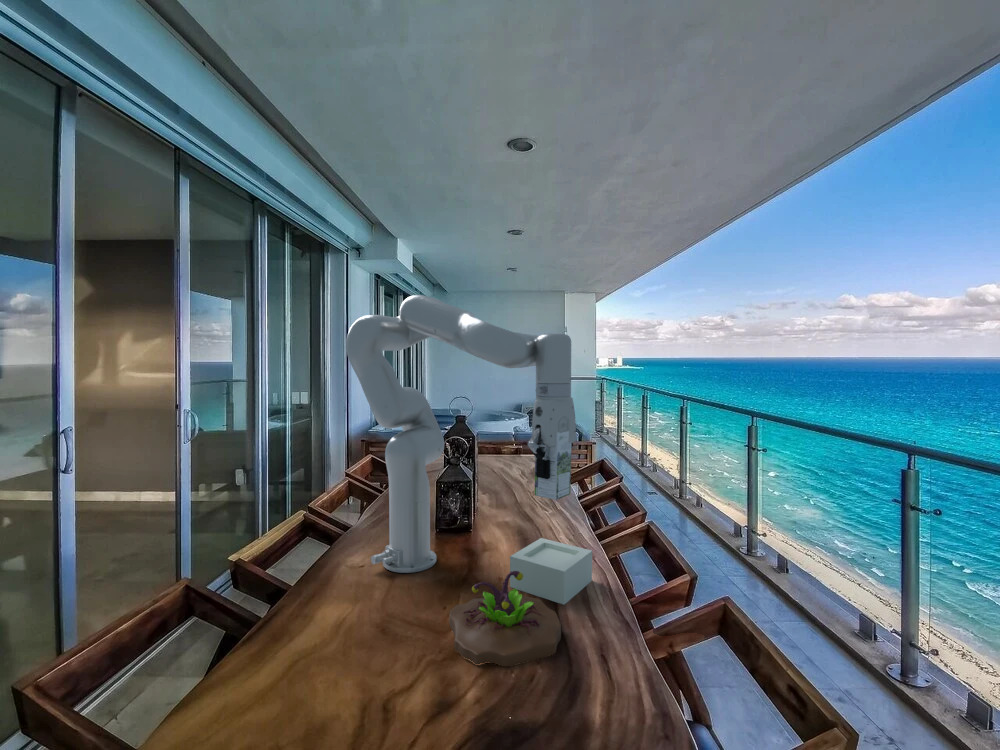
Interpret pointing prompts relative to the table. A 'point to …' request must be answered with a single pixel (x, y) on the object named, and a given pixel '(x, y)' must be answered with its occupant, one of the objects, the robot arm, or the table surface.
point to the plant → (504, 626)
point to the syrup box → (556, 470)
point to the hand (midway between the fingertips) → (553, 474)
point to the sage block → (552, 570)
